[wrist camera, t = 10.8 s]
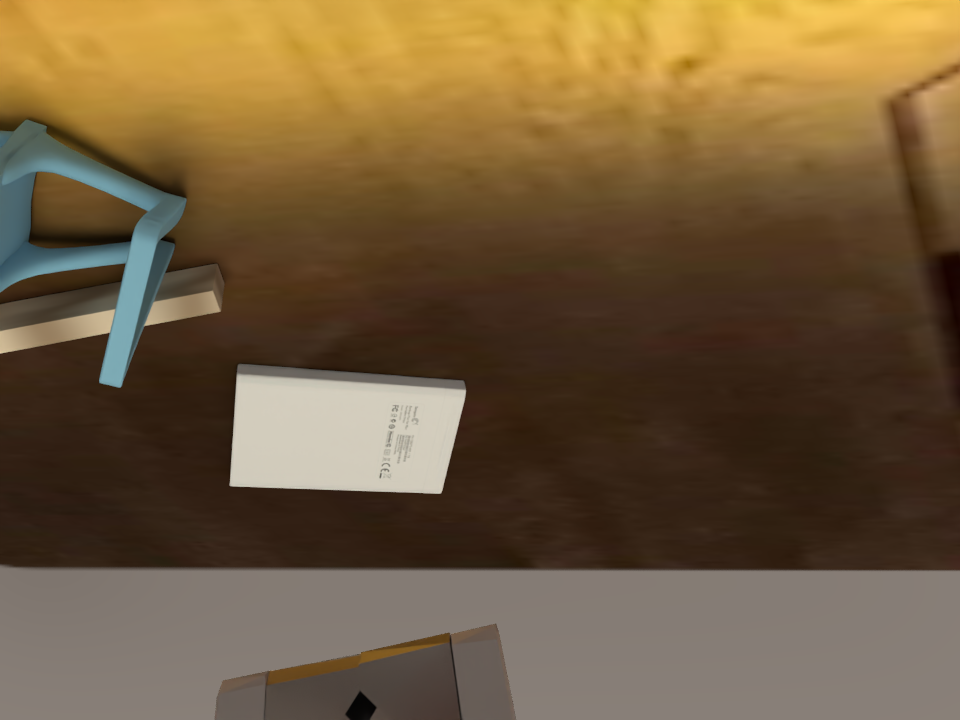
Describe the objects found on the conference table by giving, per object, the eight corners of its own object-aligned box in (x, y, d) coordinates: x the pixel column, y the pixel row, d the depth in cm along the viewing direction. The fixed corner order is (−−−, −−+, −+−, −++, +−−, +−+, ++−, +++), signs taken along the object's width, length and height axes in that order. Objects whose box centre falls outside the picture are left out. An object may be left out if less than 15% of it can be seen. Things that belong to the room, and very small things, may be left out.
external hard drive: (238, 358, 49) (463, 375, 52) (231, 469, 54) (438, 479, 57) (236, 376, 48) (467, 393, 51) (229, 489, 52) (441, 498, 55)
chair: (200, 154, 41) (-86, 54, 38) (157, 238, 35) (-196, 125, 31) (165, 292, 45) (-98, 212, 42) (119, 392, 38) (-198, 305, 35)
